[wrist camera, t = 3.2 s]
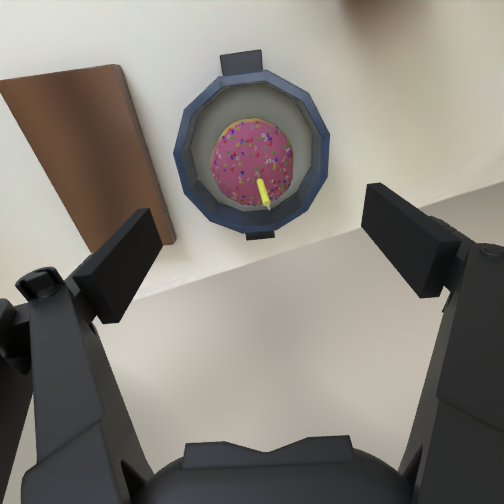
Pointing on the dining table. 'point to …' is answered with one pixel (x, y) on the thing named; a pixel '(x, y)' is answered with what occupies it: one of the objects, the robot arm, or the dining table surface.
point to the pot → (251, 223)
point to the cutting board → (89, 148)
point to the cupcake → (252, 162)
